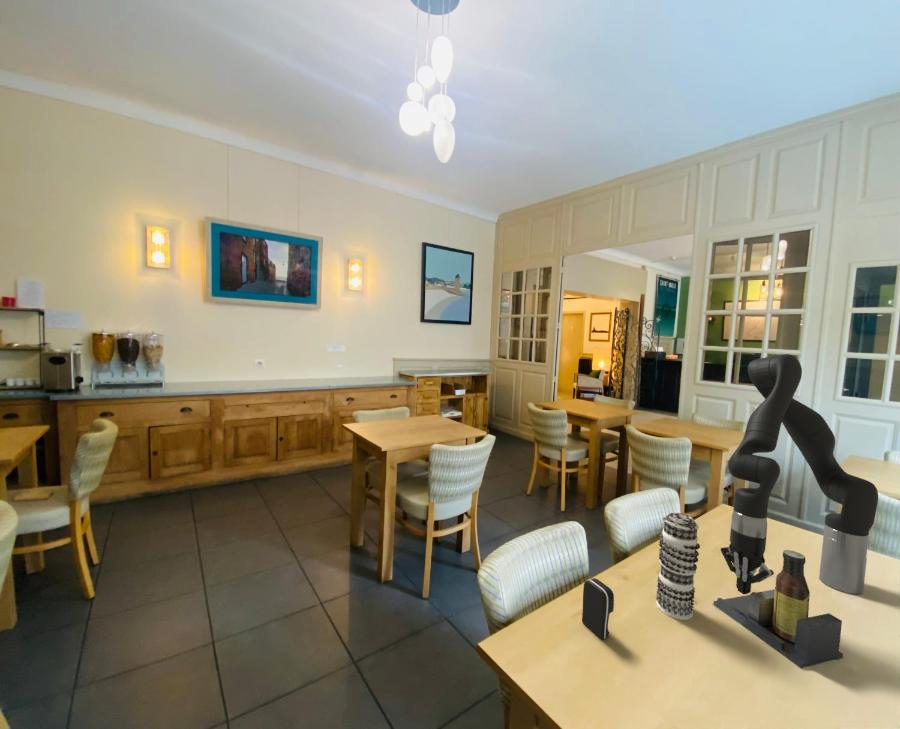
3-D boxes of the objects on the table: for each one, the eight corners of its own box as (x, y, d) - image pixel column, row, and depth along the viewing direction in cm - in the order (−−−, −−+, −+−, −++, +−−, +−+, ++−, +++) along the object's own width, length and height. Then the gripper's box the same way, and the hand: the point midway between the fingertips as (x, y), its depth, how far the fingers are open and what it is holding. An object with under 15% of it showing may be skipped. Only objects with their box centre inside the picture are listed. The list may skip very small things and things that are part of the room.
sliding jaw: (777, 614, 101) (779, 588, 100) (788, 621, 98) (790, 594, 98) (747, 620, 98) (750, 593, 98) (757, 627, 96) (760, 600, 95)
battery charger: (614, 636, 93) (617, 590, 92) (602, 641, 91) (605, 594, 90) (591, 617, 99) (594, 573, 98) (580, 621, 97) (583, 577, 96)
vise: (750, 598, 109) (752, 566, 108) (842, 657, 89) (846, 619, 88) (713, 604, 106) (716, 572, 105) (800, 668, 85) (804, 628, 85)
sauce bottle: (813, 647, 90) (821, 564, 89) (781, 642, 91) (789, 560, 90) (794, 627, 97) (801, 549, 95) (765, 623, 98) (772, 546, 97)
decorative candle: (691, 603, 106) (699, 513, 104) (697, 625, 97) (705, 528, 96) (653, 593, 109) (660, 506, 108) (655, 613, 101) (662, 519, 100)
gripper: (714, 519, 109) (709, 579, 110) (764, 543, 96) (758, 611, 97) (734, 517, 111) (729, 576, 112) (786, 540, 98) (780, 606, 99)
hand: (743, 592), depth 105 cm, fingers closed
